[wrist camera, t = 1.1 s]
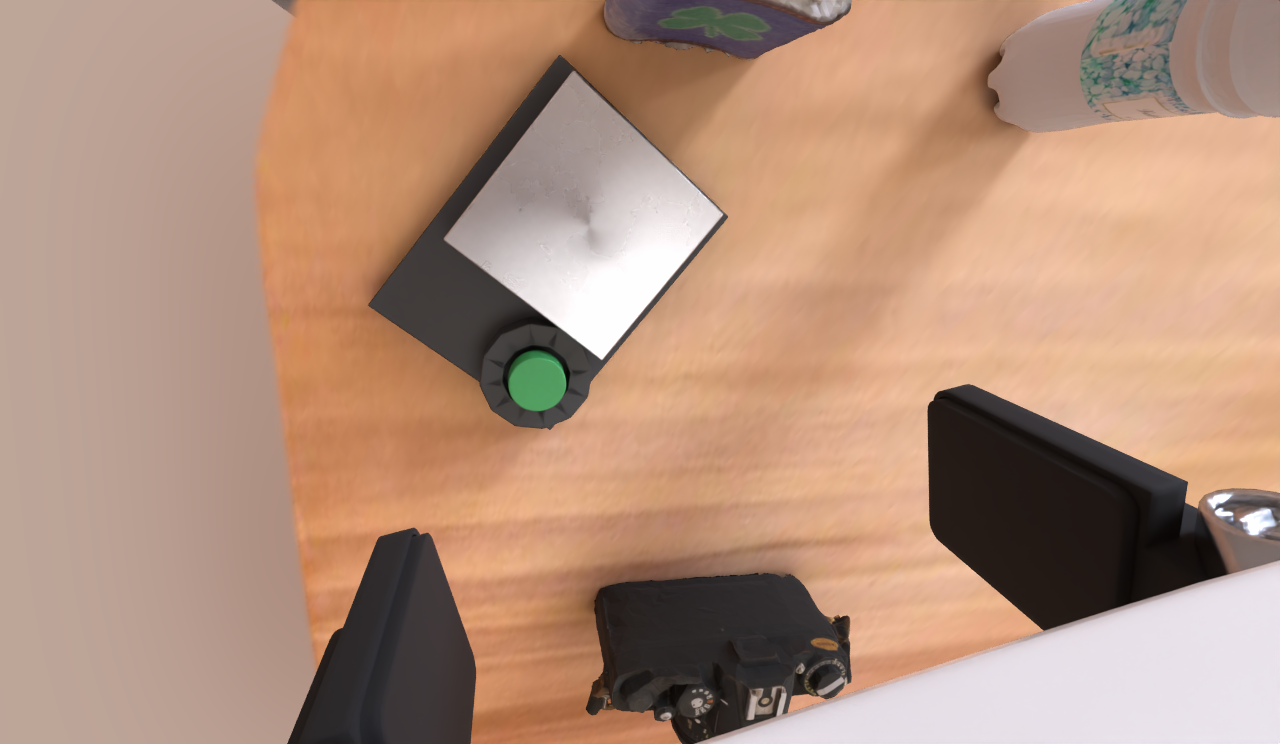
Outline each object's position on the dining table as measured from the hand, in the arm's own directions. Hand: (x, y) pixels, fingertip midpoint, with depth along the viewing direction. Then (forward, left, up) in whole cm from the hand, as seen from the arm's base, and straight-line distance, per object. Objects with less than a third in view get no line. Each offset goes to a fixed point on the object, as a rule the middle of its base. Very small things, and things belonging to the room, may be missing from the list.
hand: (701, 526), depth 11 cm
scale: (-2, +1, -25) cm, 25 cm away
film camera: (+23, -13, -25) cm, 37 cm away
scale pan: (-2, +3, -22) cm, 23 cm away
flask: (-4, +15, -25) cm, 30 cm away
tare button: (+1, -5, -22) cm, 23 cm away
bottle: (+13, +27, -25) cm, 39 cm away
